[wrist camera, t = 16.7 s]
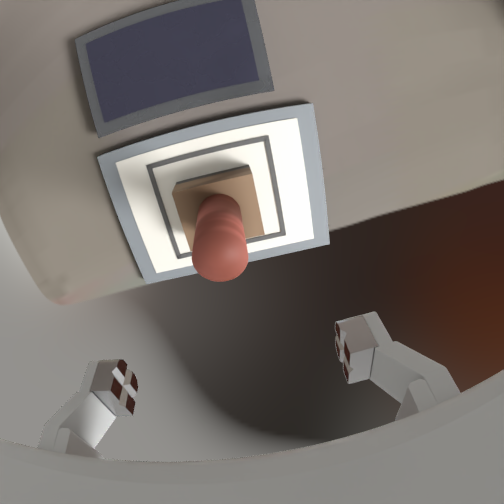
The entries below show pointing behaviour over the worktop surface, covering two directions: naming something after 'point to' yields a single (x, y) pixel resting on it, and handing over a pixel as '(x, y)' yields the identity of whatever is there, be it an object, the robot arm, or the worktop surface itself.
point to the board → (214, 160)
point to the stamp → (219, 220)
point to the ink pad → (172, 61)
